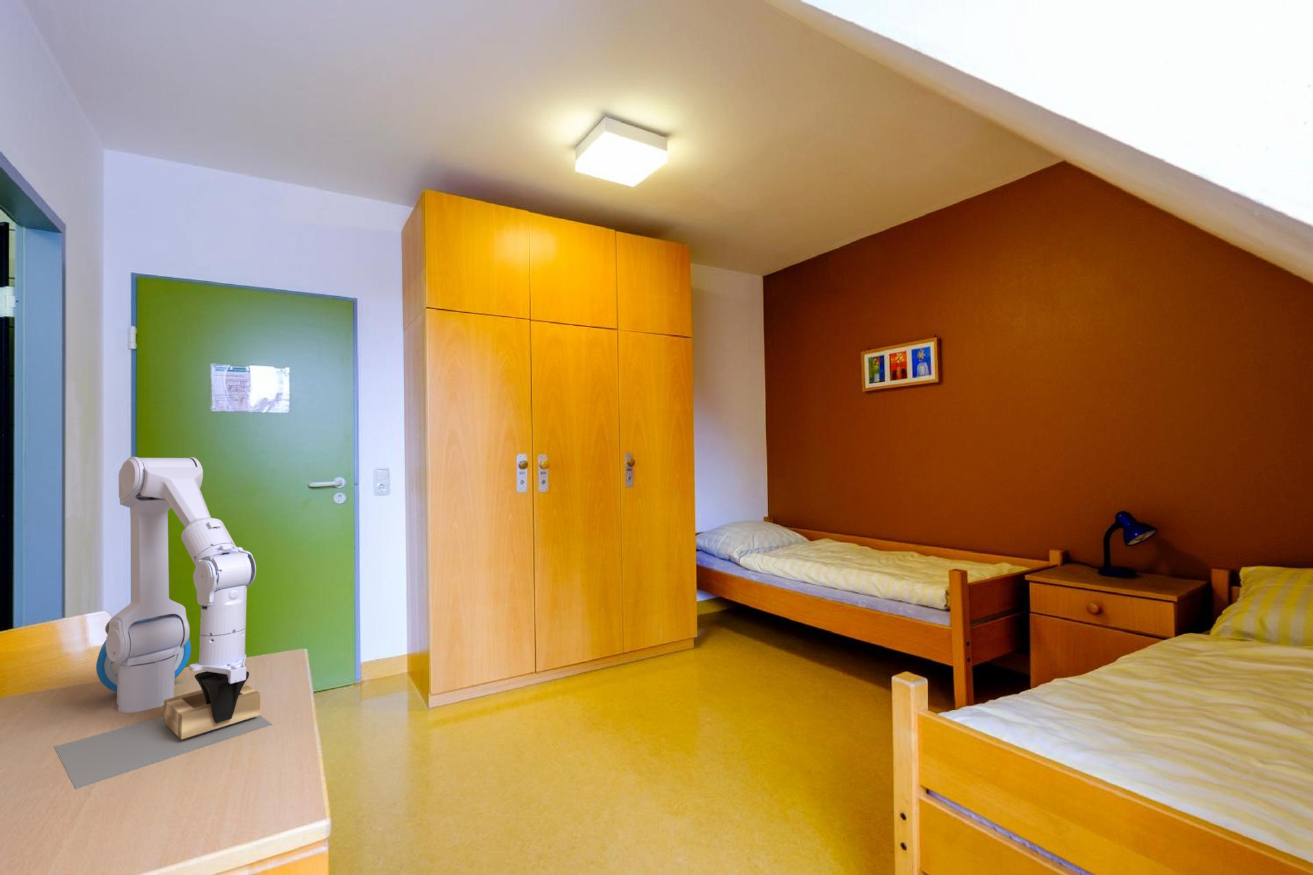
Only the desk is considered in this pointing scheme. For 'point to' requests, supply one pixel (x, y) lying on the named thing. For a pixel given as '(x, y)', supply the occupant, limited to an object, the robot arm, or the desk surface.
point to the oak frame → (205, 712)
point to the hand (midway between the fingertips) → (220, 718)
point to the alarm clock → (109, 669)
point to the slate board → (138, 748)
